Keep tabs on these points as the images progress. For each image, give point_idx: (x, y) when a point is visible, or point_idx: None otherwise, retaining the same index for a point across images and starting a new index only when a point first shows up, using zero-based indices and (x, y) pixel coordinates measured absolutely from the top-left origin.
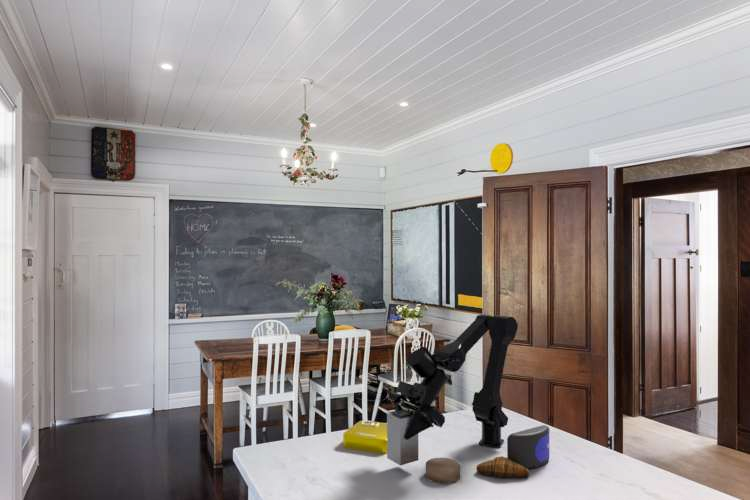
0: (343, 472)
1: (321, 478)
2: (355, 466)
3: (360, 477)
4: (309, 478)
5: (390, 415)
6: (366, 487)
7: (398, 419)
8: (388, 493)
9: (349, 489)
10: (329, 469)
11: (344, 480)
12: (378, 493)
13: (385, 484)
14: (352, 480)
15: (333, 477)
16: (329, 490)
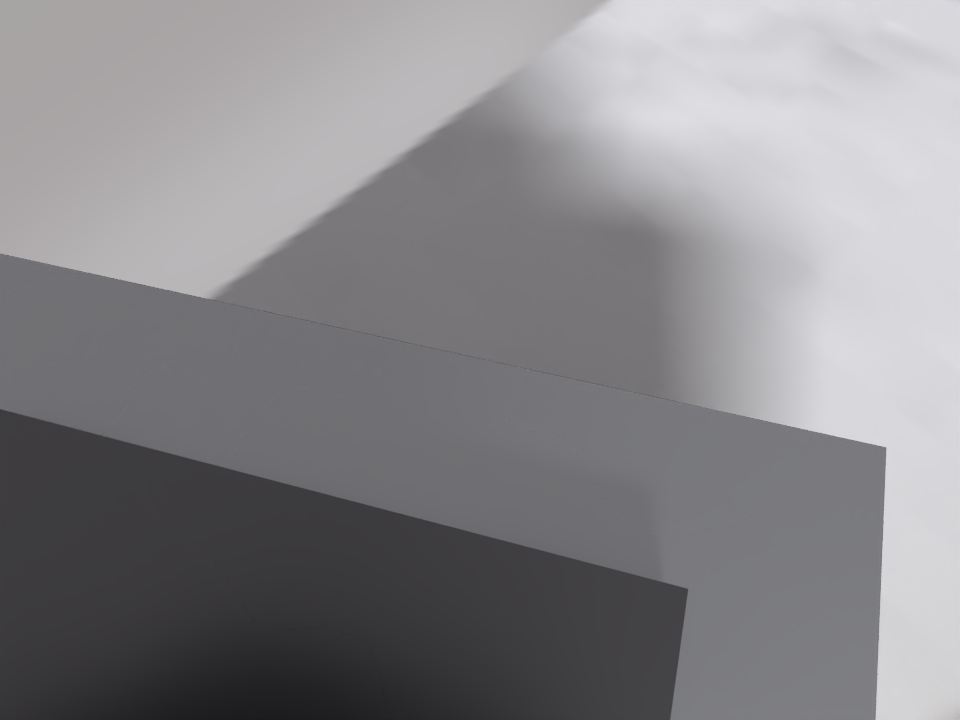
0: (806, 258)
1: (822, 95)
2: (848, 409)
3: (630, 284)
4: (878, 47)
5: (574, 386)
6: (471, 203)
7: (64, 286)
8: (288, 239)
9: (539, 115)
10: (936, 222)
11: (677, 175)
12: (345, 197)
13: (392, 324)
14: (633, 212)
15: (778, 156)
16: (625, 34)
